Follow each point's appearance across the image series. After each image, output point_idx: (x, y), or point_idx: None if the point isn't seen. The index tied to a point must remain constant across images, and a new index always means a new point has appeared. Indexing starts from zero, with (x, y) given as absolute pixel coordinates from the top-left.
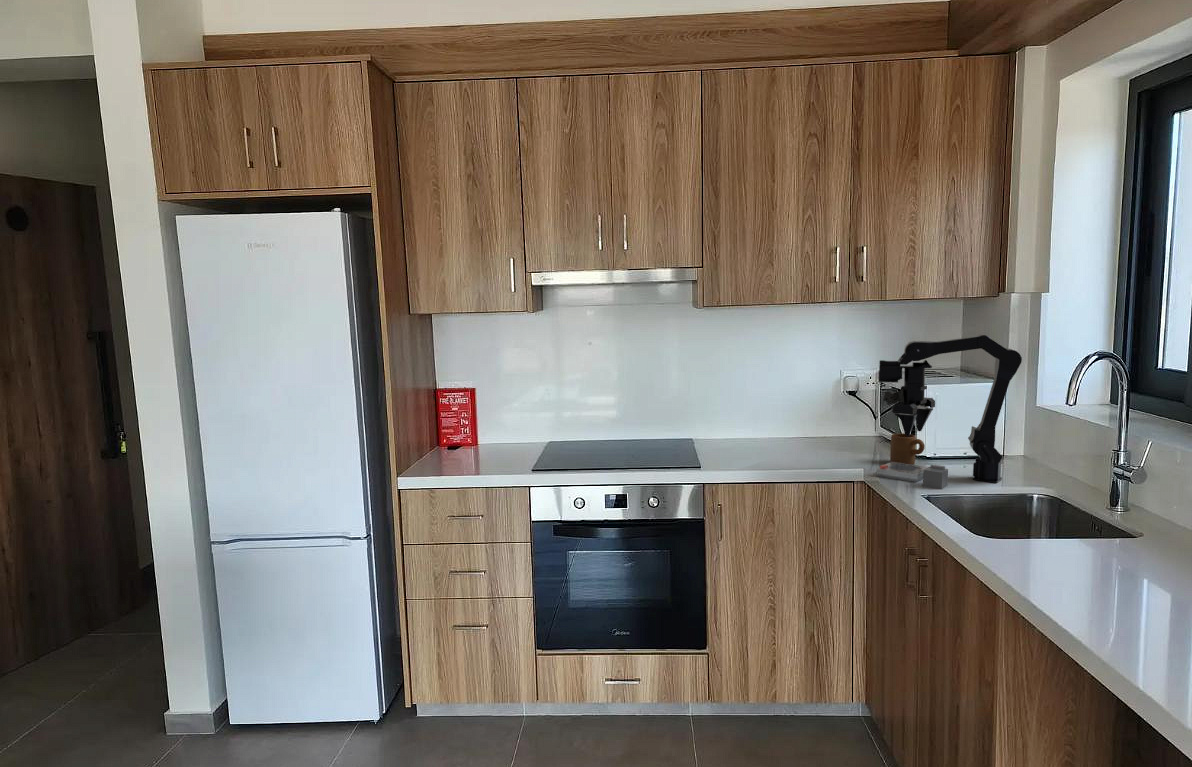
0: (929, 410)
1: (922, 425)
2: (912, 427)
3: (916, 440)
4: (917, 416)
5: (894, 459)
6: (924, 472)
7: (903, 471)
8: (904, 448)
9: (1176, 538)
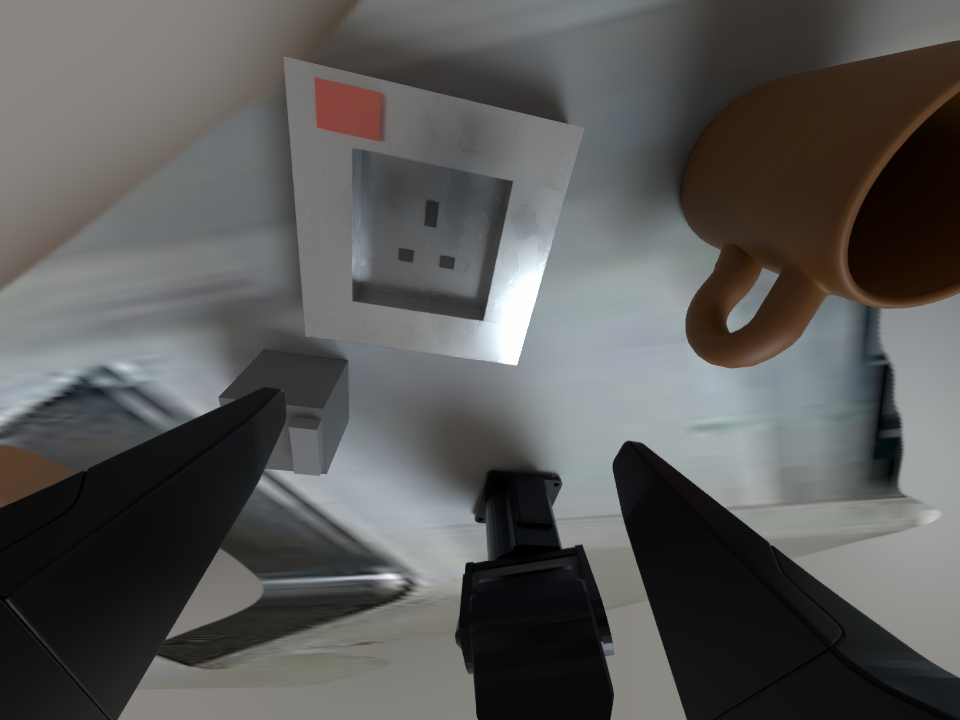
0: None
1: (631, 536)
2: (215, 543)
3: (768, 327)
4: (767, 628)
5: (724, 124)
6: (228, 393)
7: (320, 262)
8: (751, 212)
9: (236, 685)
